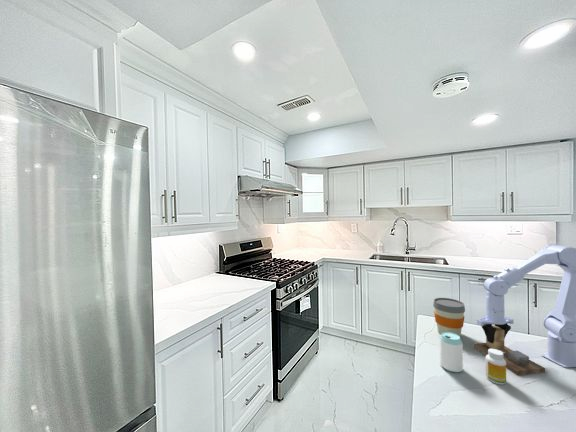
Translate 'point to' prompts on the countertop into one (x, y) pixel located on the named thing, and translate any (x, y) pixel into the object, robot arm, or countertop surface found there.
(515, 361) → the gray cube
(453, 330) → the reusable coffee cup
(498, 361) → the supplement bottle
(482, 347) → the brown wooden frame
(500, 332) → the oak peg
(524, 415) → the countertop surface
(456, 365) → the can
